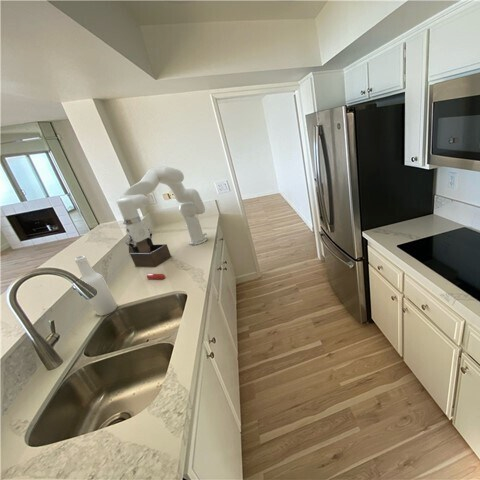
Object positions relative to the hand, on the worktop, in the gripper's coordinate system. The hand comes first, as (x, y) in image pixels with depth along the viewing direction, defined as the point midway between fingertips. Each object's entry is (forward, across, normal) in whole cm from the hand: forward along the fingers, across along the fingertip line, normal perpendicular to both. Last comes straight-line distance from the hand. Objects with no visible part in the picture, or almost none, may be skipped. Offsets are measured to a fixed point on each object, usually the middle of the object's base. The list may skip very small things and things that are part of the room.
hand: (144, 249), depth 150 cm
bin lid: (+2, +17, +22) cm, 28 cm away
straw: (+20, 0, 0) cm, 20 cm away
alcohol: (+20, -30, +2) cm, 36 cm away
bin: (+20, +22, +22) cm, 36 cm away
